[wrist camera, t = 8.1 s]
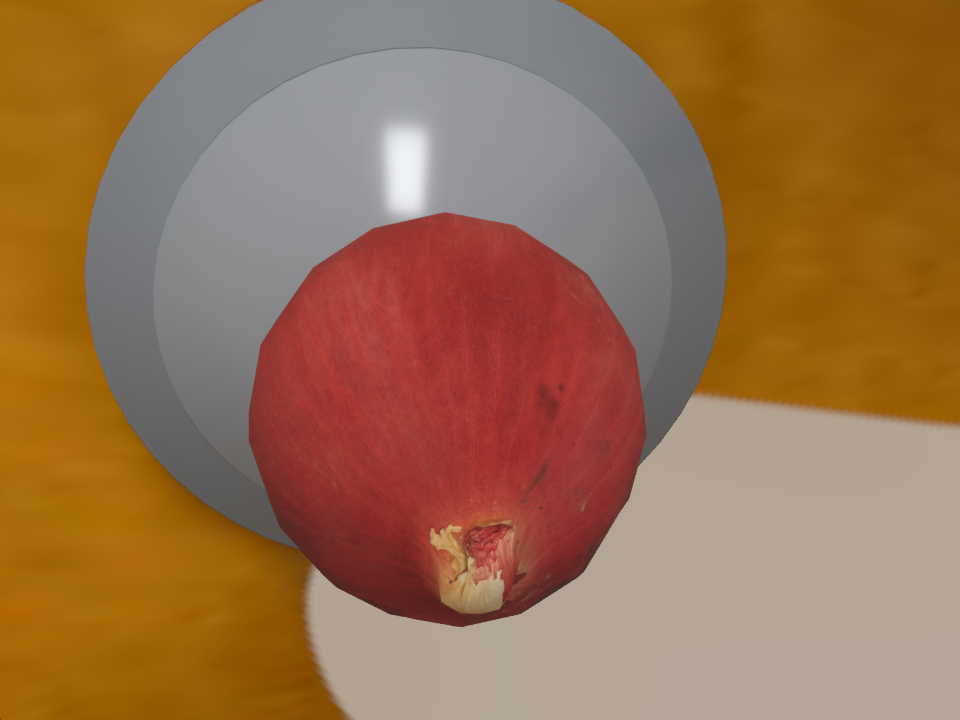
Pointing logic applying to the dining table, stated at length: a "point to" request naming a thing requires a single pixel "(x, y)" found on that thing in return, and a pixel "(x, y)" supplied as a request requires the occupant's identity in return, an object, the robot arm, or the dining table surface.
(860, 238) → the dining table surface
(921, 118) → the dining table surface
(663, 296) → the plate
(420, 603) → the onion
